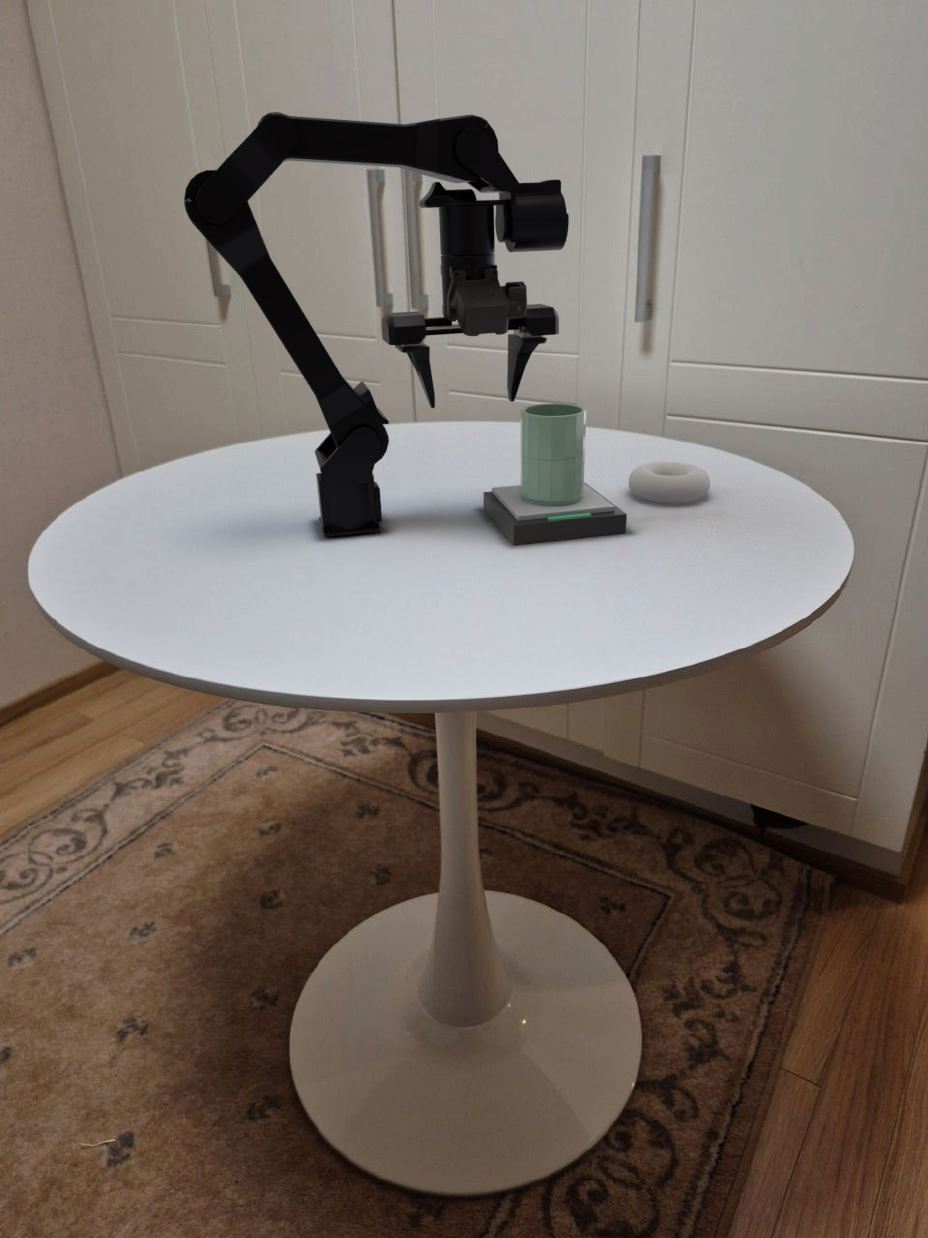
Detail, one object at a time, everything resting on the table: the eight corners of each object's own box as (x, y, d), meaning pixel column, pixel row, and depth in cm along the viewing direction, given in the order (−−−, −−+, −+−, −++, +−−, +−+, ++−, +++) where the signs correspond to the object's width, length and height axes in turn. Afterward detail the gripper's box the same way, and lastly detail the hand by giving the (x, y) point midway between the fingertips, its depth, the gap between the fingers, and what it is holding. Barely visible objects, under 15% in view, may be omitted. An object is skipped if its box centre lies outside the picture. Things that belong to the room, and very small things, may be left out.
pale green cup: (559, 510, 94) (561, 419, 90) (508, 499, 98) (507, 411, 94) (594, 495, 99) (598, 407, 95) (544, 485, 103) (546, 400, 99)
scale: (513, 545, 93) (513, 520, 92) (483, 509, 104) (483, 487, 103) (625, 532, 95) (627, 508, 94) (584, 499, 107) (585, 477, 106)
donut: (699, 484, 112) (622, 483, 112) (702, 458, 110) (624, 458, 111) (717, 507, 103) (633, 507, 103) (720, 479, 101) (635, 479, 102)
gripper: (392, 261, 81) (402, 426, 88) (578, 252, 85) (574, 411, 92) (375, 257, 91) (386, 405, 98) (543, 249, 95) (542, 393, 102)
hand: (472, 404), depth 97 cm, fingers open, 9 cm apart
